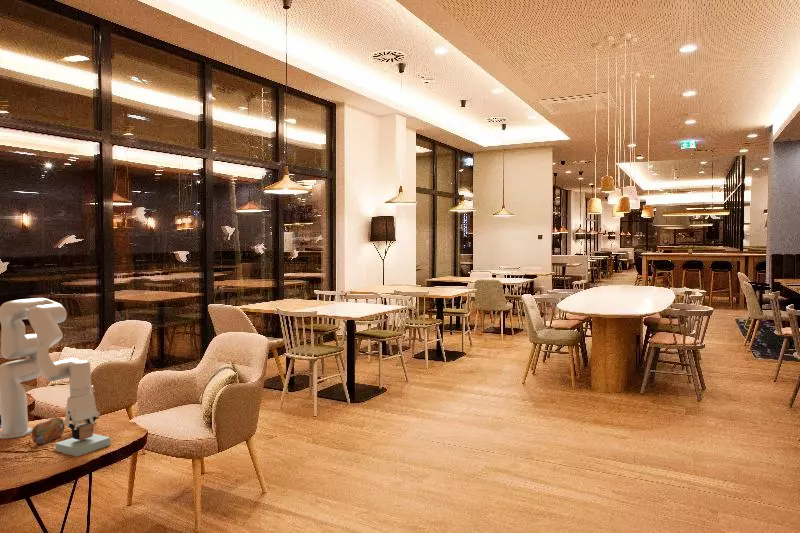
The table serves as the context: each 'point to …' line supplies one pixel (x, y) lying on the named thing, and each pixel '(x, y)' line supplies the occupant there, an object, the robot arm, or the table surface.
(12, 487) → the table surface
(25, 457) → the table surface
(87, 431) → the walnut block
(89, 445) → the plinth
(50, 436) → the tin
